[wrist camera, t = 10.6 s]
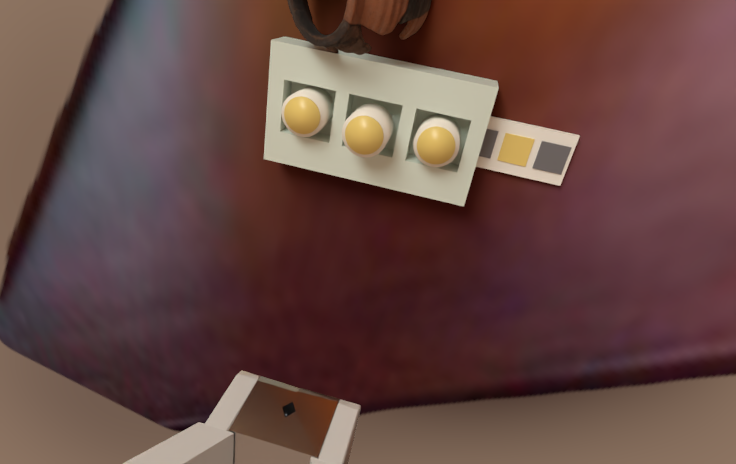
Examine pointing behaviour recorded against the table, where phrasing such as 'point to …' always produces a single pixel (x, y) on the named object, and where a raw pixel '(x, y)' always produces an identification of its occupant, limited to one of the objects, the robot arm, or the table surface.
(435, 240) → the table surface
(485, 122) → the button board
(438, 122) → the button
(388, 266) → the table surface
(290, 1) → the pottery mug
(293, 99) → the button
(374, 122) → the button
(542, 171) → the card
